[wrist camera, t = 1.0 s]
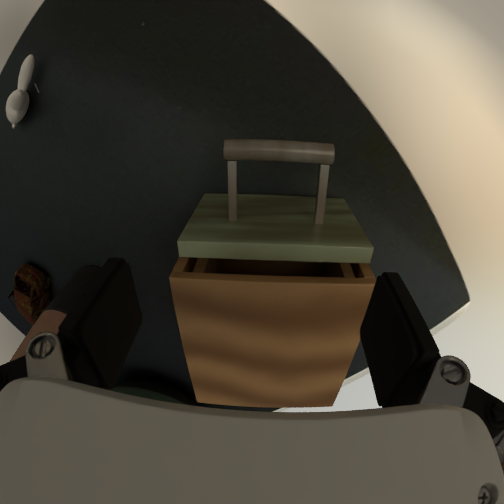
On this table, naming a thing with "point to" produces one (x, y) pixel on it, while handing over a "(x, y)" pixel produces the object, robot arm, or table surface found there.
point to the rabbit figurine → (20, 93)
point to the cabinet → (269, 334)
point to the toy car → (31, 292)
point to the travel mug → (59, 306)
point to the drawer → (275, 222)
